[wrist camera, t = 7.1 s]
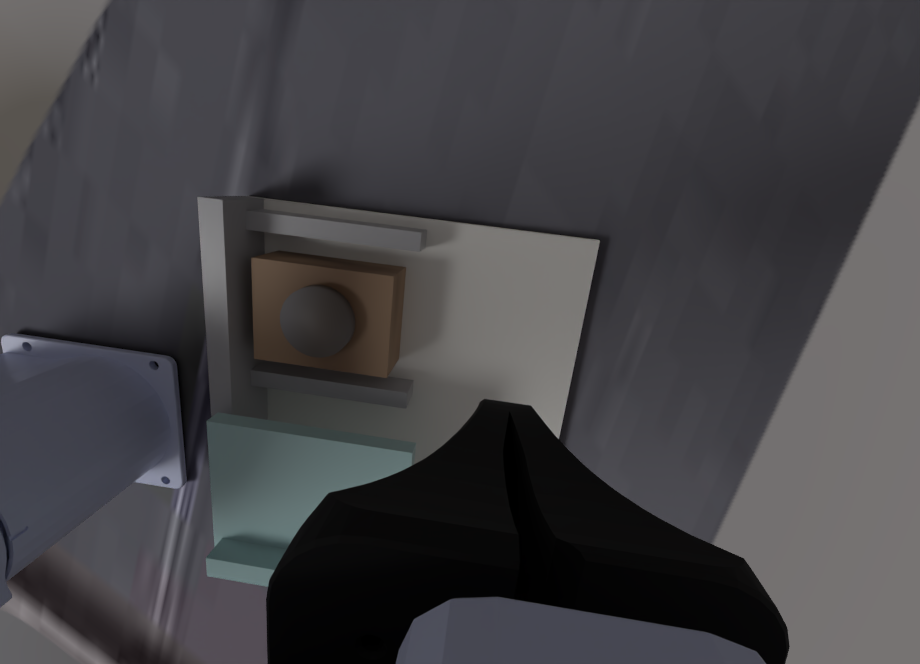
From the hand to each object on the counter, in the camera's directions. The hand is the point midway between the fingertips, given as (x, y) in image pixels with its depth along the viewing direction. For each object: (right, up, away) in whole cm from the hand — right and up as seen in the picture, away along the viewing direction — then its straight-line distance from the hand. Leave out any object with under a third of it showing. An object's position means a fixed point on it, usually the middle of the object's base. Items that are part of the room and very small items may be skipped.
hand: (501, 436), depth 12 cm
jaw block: (-7, +4, +10) cm, 12 cm away
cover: (-8, -5, +9) cm, 13 cm away
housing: (-4, 0, +11) cm, 12 cm away
